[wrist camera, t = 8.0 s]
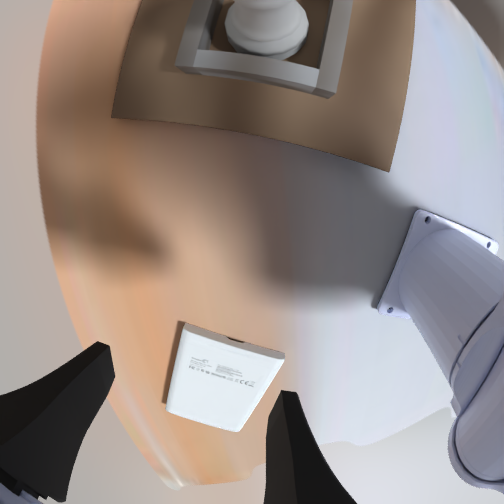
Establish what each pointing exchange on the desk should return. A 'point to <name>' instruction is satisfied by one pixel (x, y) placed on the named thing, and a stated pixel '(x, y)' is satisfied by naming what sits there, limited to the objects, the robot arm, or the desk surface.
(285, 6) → the rook chess piece
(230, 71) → the socket board
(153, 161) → the desk surface
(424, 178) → the desk surface
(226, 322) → the desk surface
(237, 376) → the external hard drive
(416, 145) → the desk surface
